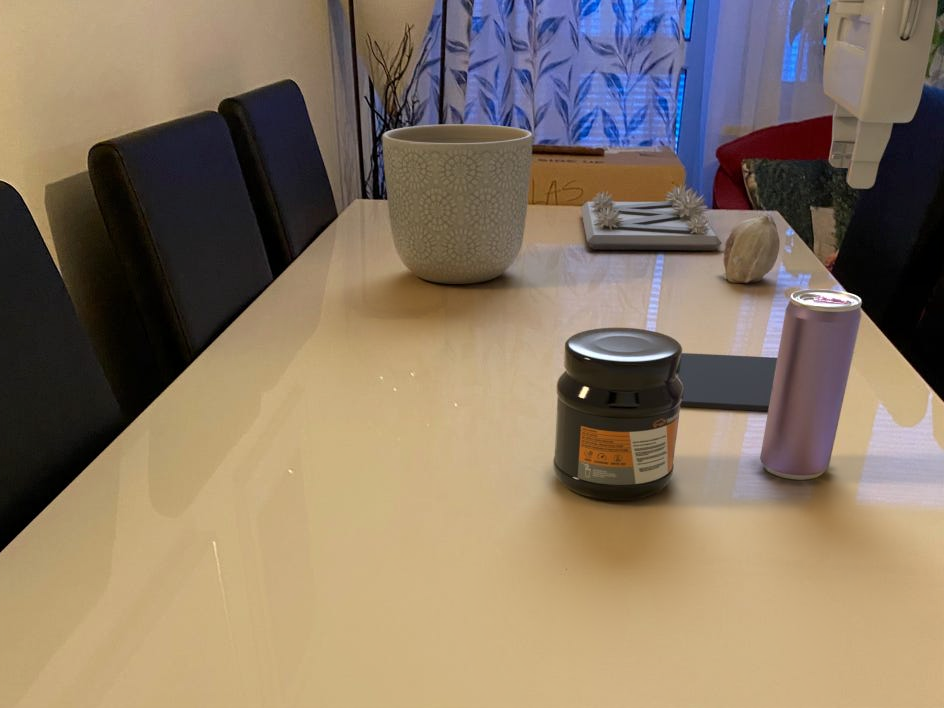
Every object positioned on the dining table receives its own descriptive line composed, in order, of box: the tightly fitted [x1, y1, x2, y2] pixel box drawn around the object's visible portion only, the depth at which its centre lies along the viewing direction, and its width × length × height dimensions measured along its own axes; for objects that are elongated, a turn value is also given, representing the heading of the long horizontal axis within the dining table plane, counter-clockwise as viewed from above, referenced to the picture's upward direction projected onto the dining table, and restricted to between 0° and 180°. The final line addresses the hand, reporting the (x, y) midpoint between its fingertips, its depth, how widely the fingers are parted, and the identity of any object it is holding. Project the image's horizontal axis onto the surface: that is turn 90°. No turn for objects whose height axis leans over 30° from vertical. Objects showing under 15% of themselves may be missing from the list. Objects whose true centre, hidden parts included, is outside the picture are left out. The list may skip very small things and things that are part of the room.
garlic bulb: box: [722, 211, 781, 284], centre depth 142 cm, size 9×8×10 cm
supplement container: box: [552, 327, 684, 501], centre depth 84 cm, size 10×10×12 cm
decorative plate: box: [580, 182, 723, 251], centre depth 169 cm, size 30×22×7 cm
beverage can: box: [759, 288, 863, 481], centre depth 85 cm, size 6×6×15 cm
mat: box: [677, 352, 777, 412], centre depth 107 cm, size 14×16×1 cm
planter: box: [381, 123, 533, 285], centre depth 142 cm, size 21×21×19 cm
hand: (849, 176), depth 76 cm, fingers open, 8 cm apart
